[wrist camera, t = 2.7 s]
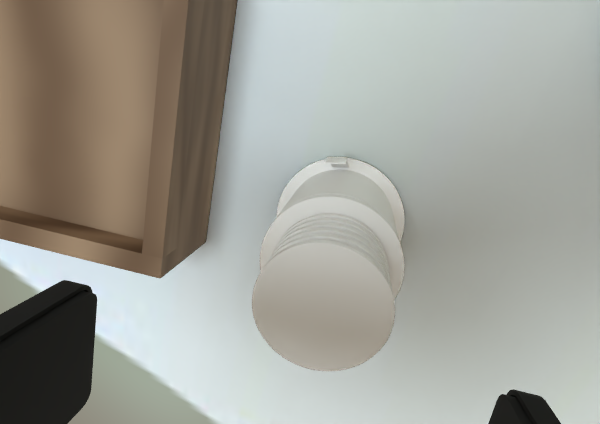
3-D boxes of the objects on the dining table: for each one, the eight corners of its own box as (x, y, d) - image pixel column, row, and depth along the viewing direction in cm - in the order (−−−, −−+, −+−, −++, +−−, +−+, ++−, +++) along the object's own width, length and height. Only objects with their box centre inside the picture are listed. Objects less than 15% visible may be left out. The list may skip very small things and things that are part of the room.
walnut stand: (239, -15, 20) (194, -63, 15) (205, 242, 24) (160, 278, 18) (-8, -56, 21) (-129, -112, 16) (-4, 192, 25) (-102, 213, 20)
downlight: (276, 146, 22) (208, 184, 12) (408, 148, 20) (448, 192, 11) (279, 279, 24) (223, 401, 14) (398, 287, 23) (424, 424, 13)
